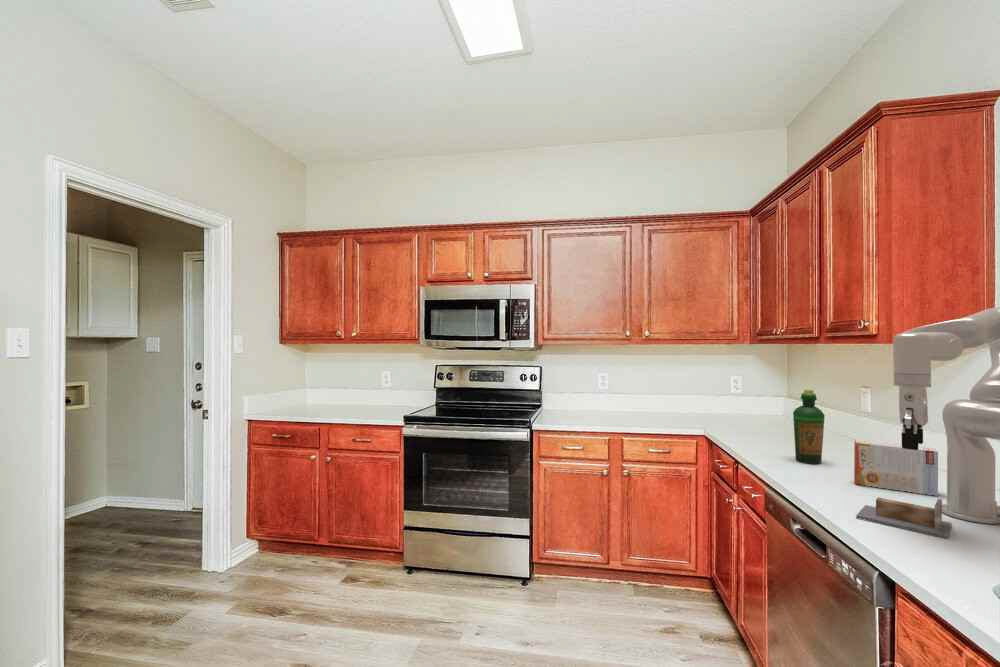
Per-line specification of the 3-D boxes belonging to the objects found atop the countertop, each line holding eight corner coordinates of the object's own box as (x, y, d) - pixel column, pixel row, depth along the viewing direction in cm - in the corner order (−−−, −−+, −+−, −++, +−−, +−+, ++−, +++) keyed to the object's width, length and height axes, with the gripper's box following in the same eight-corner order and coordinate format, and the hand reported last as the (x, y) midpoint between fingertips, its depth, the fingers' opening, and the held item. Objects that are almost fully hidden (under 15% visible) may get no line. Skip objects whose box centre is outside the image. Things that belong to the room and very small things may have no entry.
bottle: (809, 466, 184) (810, 392, 184) (785, 459, 194) (786, 389, 195) (831, 464, 187) (831, 391, 187) (806, 457, 197) (807, 388, 198)
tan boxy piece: (874, 517, 129) (874, 494, 129) (879, 509, 135) (879, 488, 135) (938, 531, 120) (938, 506, 120) (941, 523, 126) (942, 499, 126)
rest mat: (951, 526, 126) (951, 522, 126) (947, 538, 117) (947, 535, 118) (865, 507, 139) (865, 505, 139) (856, 518, 130) (856, 515, 130)
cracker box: (853, 480, 166) (935, 492, 154) (854, 484, 161) (938, 497, 149) (854, 439, 166) (936, 448, 154) (855, 442, 161) (939, 451, 149)
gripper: (927, 384, 119) (927, 454, 119) (934, 379, 131) (935, 442, 131) (888, 382, 124) (888, 449, 124) (898, 377, 136) (899, 438, 136)
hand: (912, 445), depth 127 cm, fingers open, 9 cm apart
